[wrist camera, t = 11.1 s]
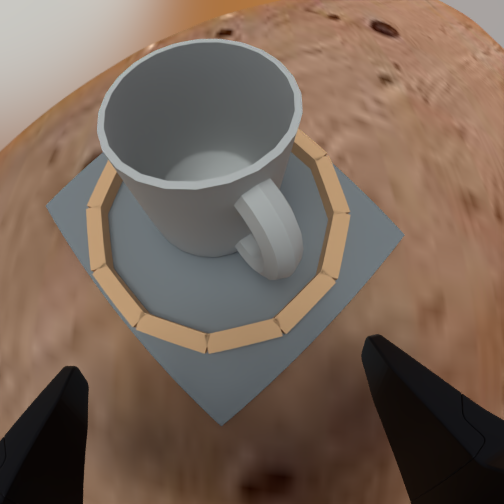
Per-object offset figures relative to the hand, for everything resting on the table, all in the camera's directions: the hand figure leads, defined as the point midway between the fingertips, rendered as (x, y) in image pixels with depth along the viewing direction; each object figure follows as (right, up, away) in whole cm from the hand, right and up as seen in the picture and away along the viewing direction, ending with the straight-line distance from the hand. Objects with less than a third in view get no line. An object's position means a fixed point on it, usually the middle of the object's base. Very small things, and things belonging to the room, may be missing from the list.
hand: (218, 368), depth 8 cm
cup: (-1, +5, +10) cm, 11 cm away
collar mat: (-1, +5, +10) cm, 11 cm away
